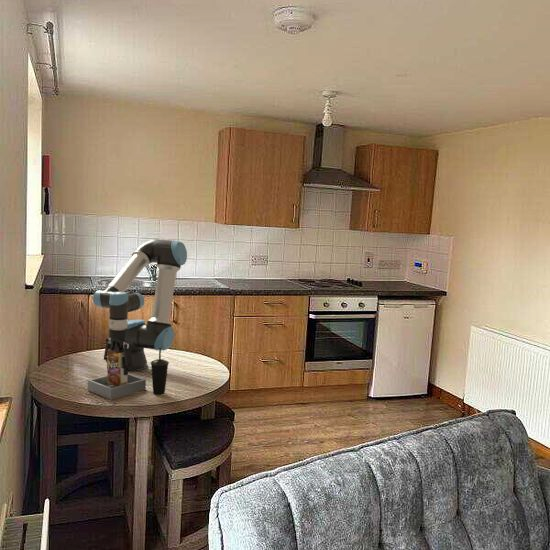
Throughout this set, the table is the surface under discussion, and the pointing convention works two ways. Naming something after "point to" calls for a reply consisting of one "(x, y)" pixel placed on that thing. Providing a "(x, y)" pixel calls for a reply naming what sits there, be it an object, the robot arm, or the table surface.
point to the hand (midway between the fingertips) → (117, 379)
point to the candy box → (114, 367)
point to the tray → (115, 392)
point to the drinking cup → (159, 374)
